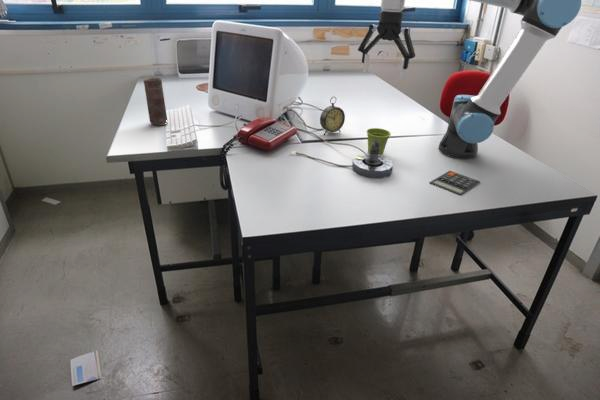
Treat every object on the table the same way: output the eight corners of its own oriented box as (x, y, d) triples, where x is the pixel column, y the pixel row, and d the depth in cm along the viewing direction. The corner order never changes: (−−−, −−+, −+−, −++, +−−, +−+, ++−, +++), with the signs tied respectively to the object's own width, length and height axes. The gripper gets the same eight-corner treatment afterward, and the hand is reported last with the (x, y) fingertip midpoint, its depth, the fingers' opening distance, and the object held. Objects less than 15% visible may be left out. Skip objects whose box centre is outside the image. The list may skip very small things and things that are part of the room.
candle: (153, 127, 176) (147, 81, 166) (147, 123, 181) (140, 77, 171) (170, 124, 180) (165, 78, 171) (163, 120, 185) (158, 75, 175)
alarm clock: (324, 136, 176) (327, 99, 168) (317, 132, 180) (319, 96, 172) (344, 132, 182) (347, 96, 174) (336, 129, 185) (340, 93, 177)
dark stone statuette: (378, 166, 152) (383, 136, 146) (381, 173, 146) (386, 142, 141) (362, 166, 151) (366, 135, 145) (365, 173, 146) (369, 141, 140)
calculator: (480, 181, 144) (461, 194, 134) (479, 183, 144) (460, 196, 135) (450, 169, 151) (429, 181, 141) (449, 172, 151) (428, 184, 142)
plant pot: (390, 151, 165) (394, 131, 160) (382, 159, 158) (385, 138, 153) (369, 146, 169) (371, 126, 164) (360, 153, 162) (362, 133, 157)
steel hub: (396, 168, 151) (398, 160, 150) (382, 182, 141) (384, 173, 139) (361, 158, 157) (362, 151, 156) (346, 171, 147) (346, 163, 145)
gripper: (432, 13, 134) (420, 78, 144) (361, 6, 144) (355, 68, 155) (425, 14, 128) (413, 82, 138) (353, 7, 139) (346, 71, 149)
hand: (382, 75), depth 147 cm, fingers open, 13 cm apart
